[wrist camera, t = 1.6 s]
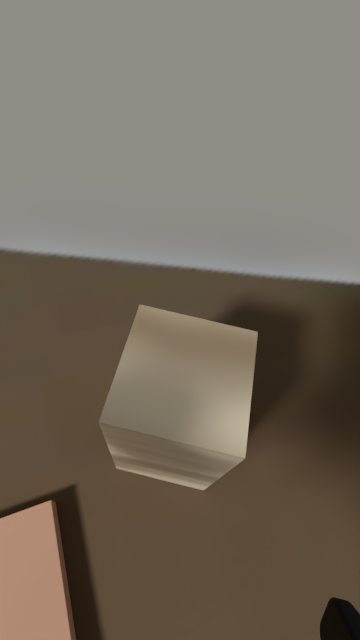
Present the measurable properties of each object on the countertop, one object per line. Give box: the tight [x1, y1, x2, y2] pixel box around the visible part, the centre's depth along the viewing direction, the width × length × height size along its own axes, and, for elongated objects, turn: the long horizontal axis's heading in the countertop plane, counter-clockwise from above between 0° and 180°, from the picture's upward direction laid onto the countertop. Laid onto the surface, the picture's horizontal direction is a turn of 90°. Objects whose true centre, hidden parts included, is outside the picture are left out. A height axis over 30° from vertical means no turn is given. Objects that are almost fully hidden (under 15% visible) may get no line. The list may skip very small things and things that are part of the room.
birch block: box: [99, 305, 258, 490], centre depth 18 cm, size 6×6×10 cm
